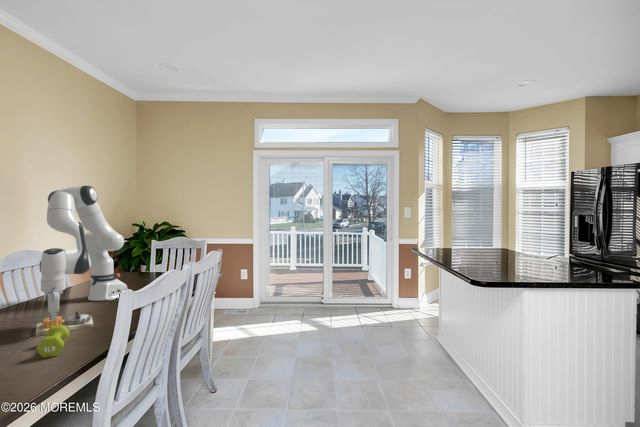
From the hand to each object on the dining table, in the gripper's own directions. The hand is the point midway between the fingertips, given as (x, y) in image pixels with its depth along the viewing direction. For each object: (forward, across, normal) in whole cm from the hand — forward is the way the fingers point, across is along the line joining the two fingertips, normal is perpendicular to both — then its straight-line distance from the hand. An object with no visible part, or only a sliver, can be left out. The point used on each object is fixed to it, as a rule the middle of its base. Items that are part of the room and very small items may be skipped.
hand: (53, 317), depth 149 cm
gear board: (+5, 0, -4) cm, 7 cm away
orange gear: (+4, 0, 0) cm, 4 cm away
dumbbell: (+5, -27, 0) cm, 28 cm away
